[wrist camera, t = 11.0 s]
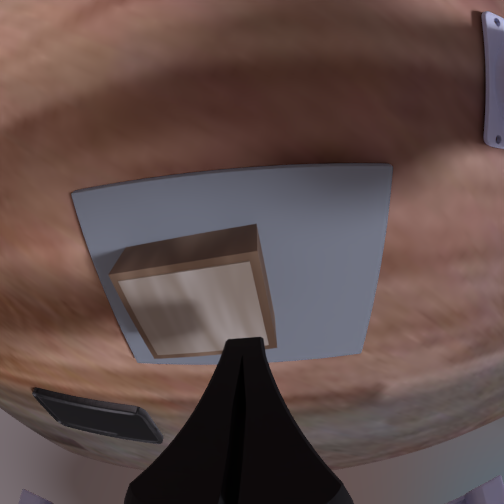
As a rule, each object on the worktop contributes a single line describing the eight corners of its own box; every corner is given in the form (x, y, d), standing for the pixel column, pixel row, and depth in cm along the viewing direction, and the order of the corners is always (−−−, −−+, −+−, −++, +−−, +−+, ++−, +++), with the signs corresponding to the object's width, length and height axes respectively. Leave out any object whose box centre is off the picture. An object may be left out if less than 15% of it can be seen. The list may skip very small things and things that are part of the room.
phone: (28, 390, 25) (142, 413, 24) (32, 383, 26) (144, 403, 25) (60, 425, 29) (165, 445, 28) (63, 418, 30) (166, 437, 29)
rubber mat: (388, 163, 13) (393, 166, 13) (359, 348, 20) (361, 353, 20) (75, 190, 14) (71, 193, 14) (139, 357, 21) (137, 362, 20)
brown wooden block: (257, 252, 12) (107, 275, 13) (277, 348, 15) (154, 359, 16) (256, 223, 15) (125, 247, 15) (274, 315, 18) (163, 328, 18)
